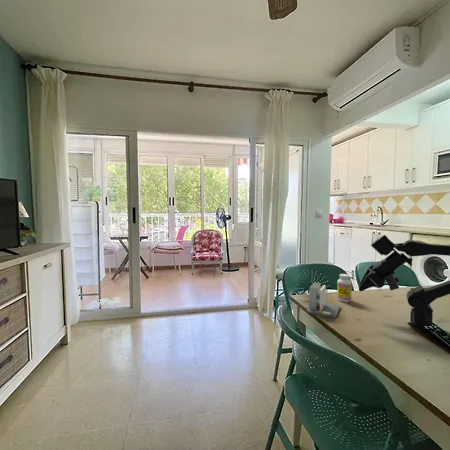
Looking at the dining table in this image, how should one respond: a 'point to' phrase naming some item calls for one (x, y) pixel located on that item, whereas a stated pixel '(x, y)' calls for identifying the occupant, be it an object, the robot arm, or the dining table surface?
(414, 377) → the dining table surface
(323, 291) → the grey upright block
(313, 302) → the anvil block
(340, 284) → the supplement bottle
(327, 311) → the base
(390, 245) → the robot arm
